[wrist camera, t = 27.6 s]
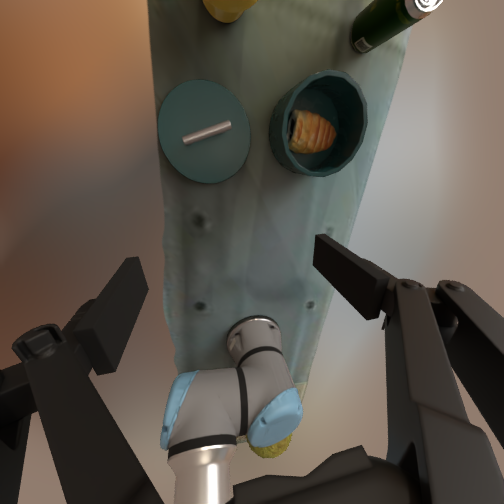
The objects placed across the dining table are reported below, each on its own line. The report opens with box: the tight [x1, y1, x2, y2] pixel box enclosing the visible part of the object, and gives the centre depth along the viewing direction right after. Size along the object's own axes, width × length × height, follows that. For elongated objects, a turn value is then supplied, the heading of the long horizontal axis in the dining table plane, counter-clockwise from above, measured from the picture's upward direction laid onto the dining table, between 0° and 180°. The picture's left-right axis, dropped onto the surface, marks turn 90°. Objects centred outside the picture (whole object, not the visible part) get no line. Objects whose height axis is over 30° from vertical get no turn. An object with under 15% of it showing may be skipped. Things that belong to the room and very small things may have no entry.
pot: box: [269, 69, 368, 177], centre depth 36 cm, size 14×14×8 cm
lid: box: [158, 79, 251, 183], centre depth 33 cm, size 15×15×9 cm
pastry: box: [286, 109, 336, 154], centre depth 38 cm, size 9×7×4 cm
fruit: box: [246, 433, 292, 458], centre depth 70 cm, size 16×14×15 cm
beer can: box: [350, 0, 443, 53], centre depth 30 cm, size 5×5×12 cm
